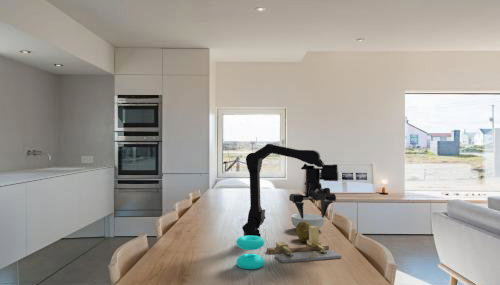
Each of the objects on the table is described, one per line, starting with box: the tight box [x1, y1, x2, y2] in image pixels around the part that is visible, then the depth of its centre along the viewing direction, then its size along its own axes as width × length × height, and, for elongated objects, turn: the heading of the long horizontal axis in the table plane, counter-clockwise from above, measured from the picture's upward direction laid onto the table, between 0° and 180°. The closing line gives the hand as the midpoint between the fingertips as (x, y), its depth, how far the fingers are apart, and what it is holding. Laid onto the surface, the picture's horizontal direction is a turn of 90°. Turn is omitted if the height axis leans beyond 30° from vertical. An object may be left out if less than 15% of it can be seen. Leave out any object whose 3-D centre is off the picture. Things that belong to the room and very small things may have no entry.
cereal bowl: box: [290, 213, 325, 229], centre depth 193 cm, size 17×17×7 cm
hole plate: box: [274, 249, 342, 264], centre depth 146 cm, size 24×8×1 cm, turn 105°
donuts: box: [235, 235, 265, 270], centre depth 136 cm, size 10×10×10 cm
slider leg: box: [306, 226, 326, 252], centre depth 154 cm, size 4×12×8 cm, turn 15°
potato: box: [295, 222, 311, 244], centre depth 171 cm, size 8×13×8 cm, turn 172°
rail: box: [266, 241, 330, 255], centre depth 152 cm, size 26×12×3 cm, turn 105°
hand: (312, 218), depth 157 cm, fingers open, 9 cm apart
